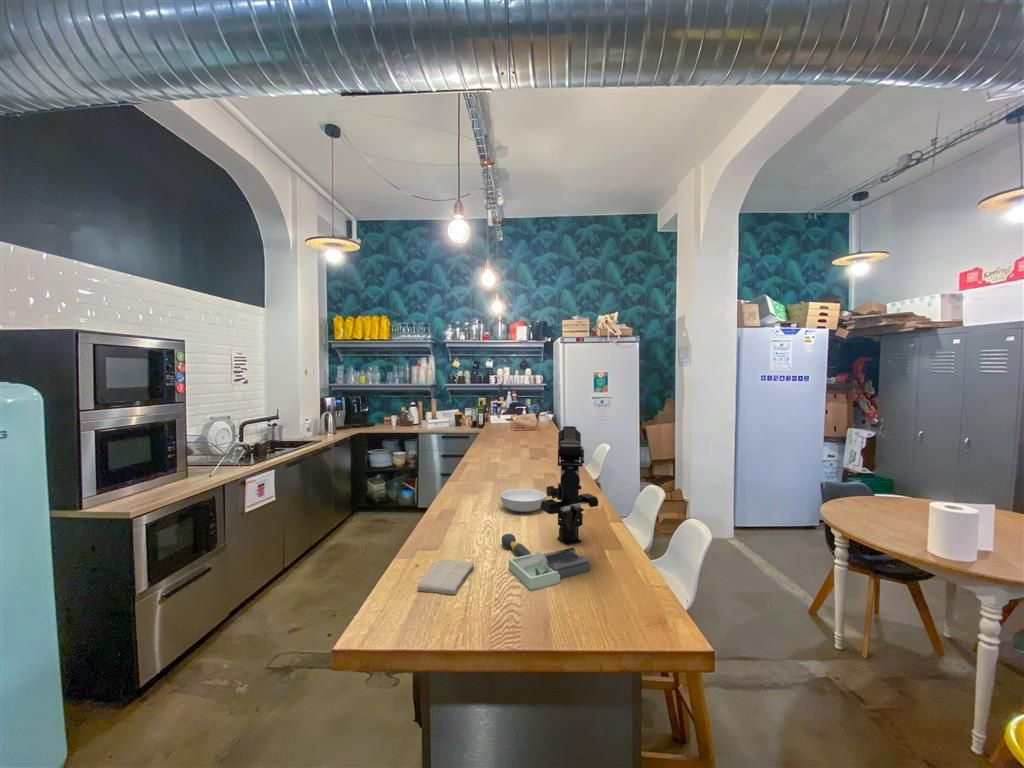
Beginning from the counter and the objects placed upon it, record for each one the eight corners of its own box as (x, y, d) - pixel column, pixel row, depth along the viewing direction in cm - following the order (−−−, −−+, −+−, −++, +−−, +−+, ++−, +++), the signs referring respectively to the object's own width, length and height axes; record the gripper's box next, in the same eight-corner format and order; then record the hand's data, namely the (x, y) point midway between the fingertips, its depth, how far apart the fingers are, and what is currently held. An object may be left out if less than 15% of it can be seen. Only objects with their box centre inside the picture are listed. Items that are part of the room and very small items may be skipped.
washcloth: (475, 568, 134) (475, 559, 134) (456, 598, 116) (456, 587, 116) (440, 565, 137) (440, 555, 136) (416, 593, 119) (416, 582, 119)
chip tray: (536, 563, 136) (536, 553, 136) (559, 582, 124) (559, 571, 124) (508, 570, 132) (508, 559, 132) (530, 590, 119) (530, 578, 119)
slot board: (571, 558, 140) (571, 546, 140) (589, 571, 131) (589, 558, 131) (540, 566, 135) (540, 553, 135) (557, 579, 126) (557, 566, 126)
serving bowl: (548, 517, 181) (548, 501, 181) (499, 516, 181) (499, 501, 181) (544, 502, 202) (544, 488, 202) (501, 502, 202) (501, 487, 202)
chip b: (528, 558, 130) (517, 561, 128) (535, 563, 126) (523, 566, 124) (529, 571, 130) (518, 574, 128) (535, 576, 126) (524, 580, 125)
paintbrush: (541, 561, 139) (541, 546, 138) (530, 565, 136) (529, 550, 135) (506, 542, 154) (506, 528, 154) (495, 545, 151) (495, 531, 151)
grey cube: (543, 561, 132) (538, 551, 131) (550, 566, 129) (545, 556, 128) (533, 569, 131) (528, 559, 130) (540, 574, 127) (535, 564, 126)
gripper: (579, 473, 145) (578, 517, 146) (532, 479, 137) (531, 526, 137) (599, 480, 135) (599, 528, 136) (550, 487, 127) (549, 538, 127)
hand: (569, 529), depth 134 cm, fingers closed
